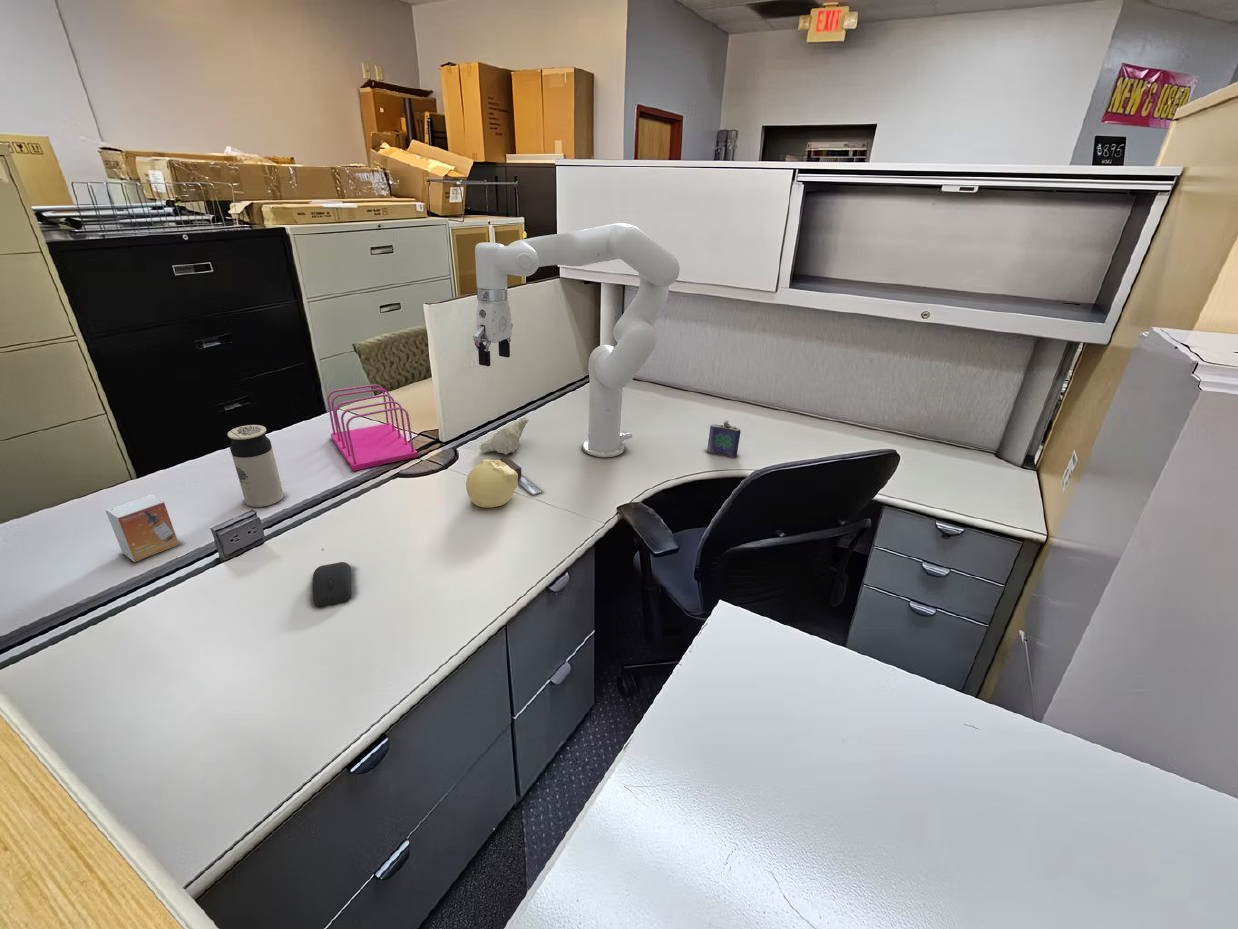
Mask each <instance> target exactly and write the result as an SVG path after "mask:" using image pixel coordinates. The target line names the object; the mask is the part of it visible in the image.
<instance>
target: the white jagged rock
mask: <svg viewBox="0 0 1238 929" xmlns="http://www.w3.org/2000/svg"><path fill="white" fill-rule="evenodd" d="M528 423H529V419H528V417H527V416H525V417H523V418H520V419H519V420H518V421H515V422H514V423H512V424H510V425H506V426H504V427H502V428H501V429H499V430H498V431H496V432H495V433H494V434H493V436H492V437H491V438H489V439H487V440H486V441H484V442H483V443H481V444H480V445H479V447H478V449H479V450H480V452H482V453H485V454H486V453H489V452H497V453H500V454H504V455H505V456H506V455H509V454H510V453H512V454H515V451H516V450H517V449H518V448H519V447H520V446H521V443H520V439H521V437H522V433H523V431H524V429H525V428H526V425H527V424H528Z"/></svg>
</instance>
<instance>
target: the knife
mask: <svg viewBox="0 0 1238 929" xmlns="http://www.w3.org/2000/svg"><path fill="white" fill-rule="evenodd" d="M499 460H500V461H502V462H503V463H505V464H506V465H508V466H509V467H510V468H511V469H513V470H514V471H516V472H517V474H518V484H517V485H519V486H520V487H521V488H523V489H524V490H525V491H527V493H529V494H530V495H532V496H535V495H537V494H542V491H541V489H540V488H538V487H536V486H535V485H534V484H533V483H531V482H530V481H529V480H528V479H526V478H525V477H524V476H523V475H522V467H521V466H519V465H518V464H517V463H516V462H514V461H513V460H512V459H511V458H510V457H508V456H505V457H501V458H499Z"/></svg>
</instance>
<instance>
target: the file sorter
mask: <svg viewBox="0 0 1238 929" xmlns="http://www.w3.org/2000/svg"><path fill="white" fill-rule="evenodd" d="M374 387H375V388H374ZM367 388H371V389H367ZM359 389H364V390H359ZM351 390H355V391H351ZM356 390H357V391H356ZM345 391H348V392H345ZM349 391H350V392H349ZM378 391H381V392H382V394H377V395H372V396H371V395H370V396H366V397H362V398H356V399H351V400H346V401H342V402H340V403H338V404H337V405H336V406H335V404H334V402H335V400H336V399H337V398H339V397H344V396H349V395H350V396H351V395H356V394H364V393H370V392H378ZM339 392H344V393H339ZM334 393H338V394H336V395H335V396H333V398H332V399H331V402H330V397H331V395H333V394H334ZM378 398H383V401H381V402H377V403H372V404H366V405H365V404H364V405H361V406H356V407H350V408H347V409H345V410H344V411H343V412H342V413H341V415H340V420H339V416H338V409H340V407H341V406H343V405H347V404H351V403H357V402H362V401H366V400H371V399H372V400H373V399H378ZM386 398H388V401H387V399H386ZM326 403H327V408H328V414H329V418H330V419H329V420H330V424H331V428H332V432H331V433H330V438H331V440H332V441H333V443H334V445H335V446H336V448H337V449H338V451H339V452H340V454H341V455H342V457H343V458H344V459H345V461H346V462H347V464H348V465H349V467H350V468H351V470H352V471H358V470H363V469H367V468H372V467H377V466H381V465H385V464H390V463H391V464H392V463H395V462H400V461H401V462H402V461H404V460H410V459H415V458H418V451H417V450H416V449H415V447H414V442H413V436H412V434H413V433H412V428H411V422H410V415H409V413H408V410H406V409H405V408H403V407H402V405H401V404H400V402H397V401H395V399H394V397H393V396H391V395H390V392H389V391H388V390H387V389H385V388H383V386H381V385H379V384H367V385H361V386H353V387H345V388H339V389H334V390H332V391H330V392H329V393H328V395H327V396H326ZM396 405H397V406H398V407H397V406H396ZM379 406H384V409H380V410H375V411H371V412H365V413H361V414H356V415H352V416H351V417H349V418H348V420H347V421H346V424H345V420H344V418H345V415H346V413H348V412H352V411H357V410H361V409H366V408H372V407H379ZM388 406H389V408H388ZM398 410H399V412H400V420H401V427H402V432H403V435H402V434H401V430H400V425H399V418H398V417H399V416H398V413H397V411H398ZM388 412H390V413H389V414H390V420H391V423H390V421H389V414H388ZM393 412H394V414H393ZM381 413H385V420H386V423H382V424H376V425H371V426H364V427H359V428H354V429H350V427H349V426H350V423H351V422H352V420H354V419H357V418H363V417H367V416H372V415H377V414H381ZM404 413H405V417H406V423H407V429H408V436H409V441H408V439H407V433H406V425H405V420H404V419H405V418H404ZM394 418H395V422H394ZM340 422H341V423H340ZM395 423H396V427H395ZM409 442H410V443H409Z"/></svg>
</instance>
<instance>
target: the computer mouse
mask: <svg viewBox="0 0 1238 929" xmlns="http://www.w3.org/2000/svg"><path fill="white" fill-rule="evenodd" d="M352 595H353V594H352V568H351V566H350V564H349V563H347V562H346V561H340V562H334V563H328V564H322V565H319V566H318V567H317V568H316V569H314V571H313V575H312V598H313V603H314V605H315V606H317V607H325V606H326V607H327V606H330V605H335V604H340V603H344V602H347V601H349V600H350V599H351V597H352Z"/></svg>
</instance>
